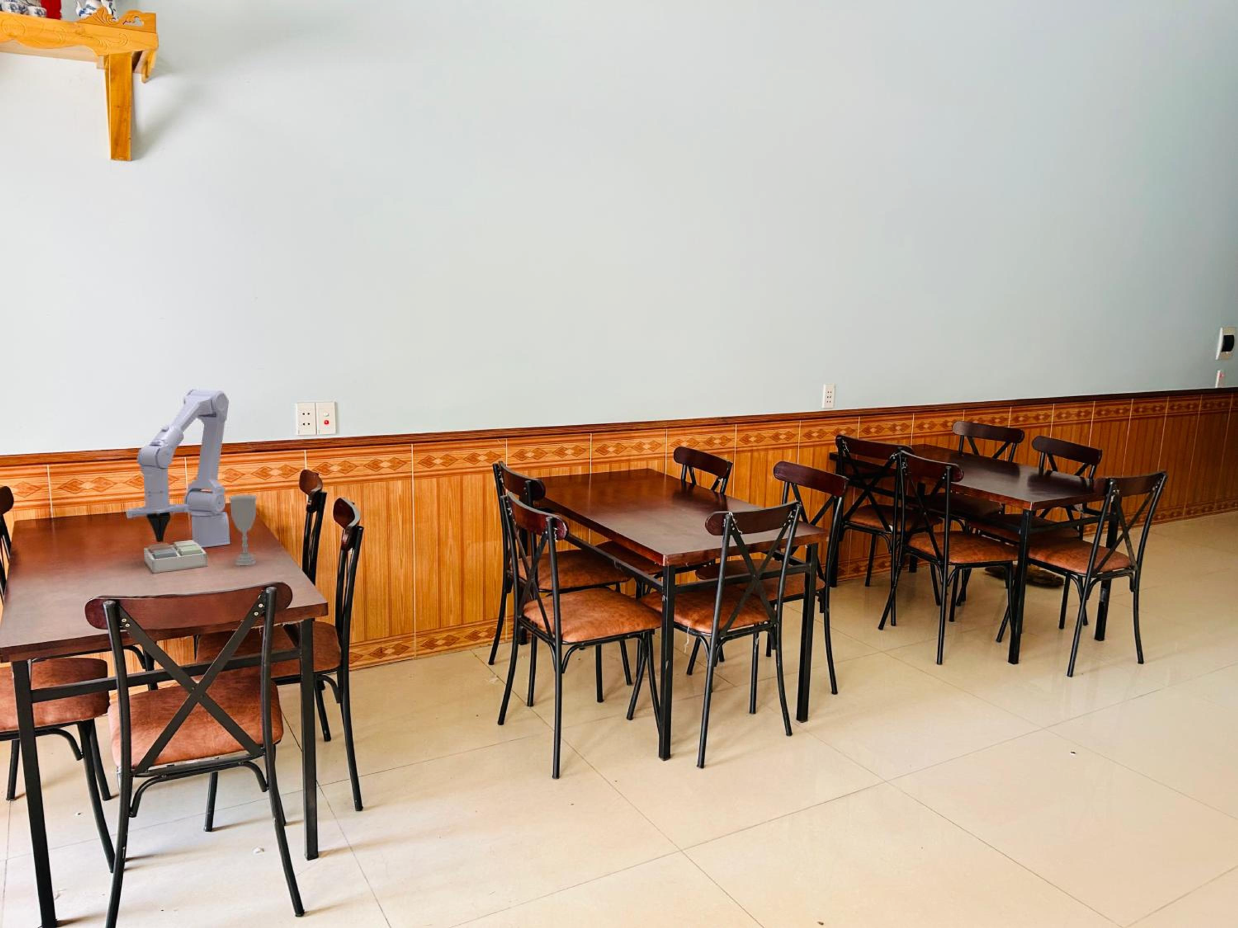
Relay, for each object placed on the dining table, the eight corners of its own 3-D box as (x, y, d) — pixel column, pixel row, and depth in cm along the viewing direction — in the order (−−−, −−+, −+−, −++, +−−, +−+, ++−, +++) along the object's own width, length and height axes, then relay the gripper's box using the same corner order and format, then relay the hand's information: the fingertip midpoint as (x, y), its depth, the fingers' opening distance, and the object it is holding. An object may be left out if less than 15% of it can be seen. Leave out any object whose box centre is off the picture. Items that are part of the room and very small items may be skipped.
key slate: (172, 557, 238) (172, 548, 238) (176, 561, 234) (175, 552, 234) (153, 559, 235) (153, 550, 235) (156, 564, 232) (156, 554, 231)
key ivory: (193, 548, 246) (192, 539, 246) (196, 552, 243) (196, 543, 242) (174, 550, 244) (174, 542, 243) (177, 555, 240) (177, 546, 240)
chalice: (265, 561, 244) (263, 496, 241) (247, 567, 238) (244, 501, 235) (243, 557, 246) (240, 493, 243) (225, 564, 240) (222, 498, 237)
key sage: (197, 554, 242) (197, 545, 241) (201, 558, 238) (201, 549, 238) (179, 556, 239) (178, 547, 238) (182, 560, 235) (182, 551, 235)
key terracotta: (168, 551, 243) (168, 542, 242) (171, 555, 239) (171, 546, 239) (149, 554, 240) (149, 545, 240) (152, 558, 237) (152, 549, 236)
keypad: (196, 554, 248) (196, 541, 248) (207, 566, 238) (206, 553, 237) (144, 560, 241) (143, 548, 240) (153, 573, 231) (152, 560, 230)
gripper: (128, 496, 229) (131, 548, 232) (189, 491, 238) (192, 541, 240) (123, 491, 235) (127, 541, 237) (184, 486, 243) (187, 535, 246)
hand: (159, 541), depth 239 cm, fingers closed
